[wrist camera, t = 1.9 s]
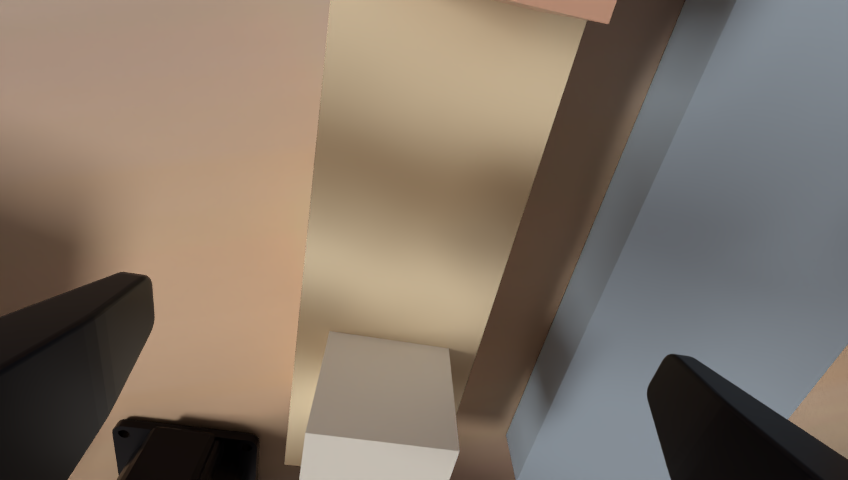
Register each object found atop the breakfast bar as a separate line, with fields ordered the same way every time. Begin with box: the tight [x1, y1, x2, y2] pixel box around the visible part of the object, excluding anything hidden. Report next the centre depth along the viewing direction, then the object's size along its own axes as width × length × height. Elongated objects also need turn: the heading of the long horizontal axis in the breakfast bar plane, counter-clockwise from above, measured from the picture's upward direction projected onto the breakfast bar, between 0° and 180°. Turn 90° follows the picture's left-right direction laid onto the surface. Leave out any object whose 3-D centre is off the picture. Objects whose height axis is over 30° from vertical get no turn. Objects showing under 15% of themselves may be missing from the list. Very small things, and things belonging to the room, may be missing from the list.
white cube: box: [299, 331, 460, 480], centre depth 15 cm, size 4×4×4 cm
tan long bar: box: [284, 0, 587, 466], centre depth 15 cm, size 24×6×4 cm, turn 168°
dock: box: [506, 0, 848, 480], centre depth 17 cm, size 26×10×2 cm, turn 168°
